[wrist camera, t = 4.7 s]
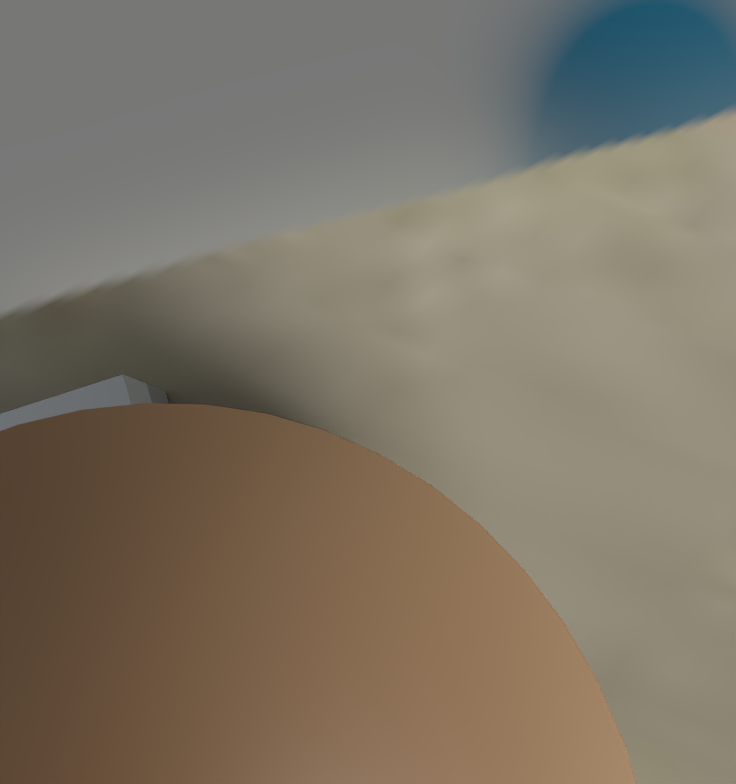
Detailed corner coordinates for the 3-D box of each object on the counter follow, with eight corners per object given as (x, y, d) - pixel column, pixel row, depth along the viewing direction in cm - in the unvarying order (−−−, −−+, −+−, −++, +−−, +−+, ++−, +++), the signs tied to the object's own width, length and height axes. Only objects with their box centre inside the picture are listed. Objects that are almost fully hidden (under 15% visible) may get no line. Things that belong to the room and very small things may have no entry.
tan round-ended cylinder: (304, 644, 14) (-31, 2154, 2) (206, 520, 15) (-703, 909, 2) (423, 536, 15) (870, 975, 2) (325, 420, 15) (229, 224, 3)
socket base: (245, 658, 14) (219, 710, 11) (-49, 773, 14) (-159, 860, 11) (165, 390, 16) (122, 374, 13) (-112, 481, 15) (-228, 486, 12)
